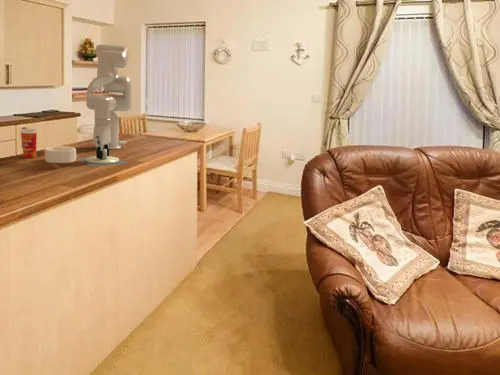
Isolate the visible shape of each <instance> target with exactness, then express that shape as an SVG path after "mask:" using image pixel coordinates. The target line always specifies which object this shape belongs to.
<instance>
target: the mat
mask: <svg viewBox="0 0 500 375" xmlns="http://www.w3.org/2000/svg"><path fill="white" fill-rule="evenodd" d="M111 156H112V157H116V156H115V155H111ZM86 158H87V157H76V160H79V161H80V162H81V163H83V164H85V165H87V166H89V167H91V168H92V167H103V166H105V167H106V166H114V165H117V166H118V165H129V164H130V163H129V162H127V161H125V160H124V159H121V158H119V162H118V163H114V164H93V163H88V162H87V161H86Z"/></svg>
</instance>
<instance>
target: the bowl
mask: <svg viewBox="0 0 500 375" xmlns="http://www.w3.org/2000/svg"><path fill="white" fill-rule="evenodd" d="M43 150H44V151H43V152H44V159H45V160H44V161H45V162H46V163H49V164H57V163H58V164H64V163H66V164H67V163H72V162H73V163H74V162H75V161H76V160H77V159H76V158H77V148H75V147H72V146H63V145H61V146H59V145H58V146H57V145H56V146H47V147H45V148H44V149H43Z"/></svg>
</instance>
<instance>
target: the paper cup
mask: <svg viewBox="0 0 500 375" xmlns="http://www.w3.org/2000/svg"><path fill="white" fill-rule="evenodd" d="M19 132H20V137H21V145H22V154H23V158H25V159H34V158H37V133H38V131H37V130H36V129H35V128H21V129H20V131H19Z"/></svg>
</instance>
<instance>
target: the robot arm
mask: <svg viewBox="0 0 500 375" xmlns="http://www.w3.org/2000/svg"><path fill="white" fill-rule="evenodd" d="M95 54H96V57H97V70H96V77H95V78H93V79H92V81H91V82H90V83H89V84H88V86H87V88H86V95H85V96H86V97H85V98H86V99H85V102H86V103H85V105H86V107H87V109H89V110H93V111H94V113H93V114H94V127H93V134H92V136H93V137H92V143H93V146H94V148H95V151H96V153H95V154H96V155H95V156H96V158H99V159H103V151H102V149H107V157H108V156H110V150H119V149H121V148H122V145H127V140H120V139H119V138H120V135H119V134H120V132H119V131H120V129H119V127H120V126H119V125H120V123H119V122H120V121H119V116H118V115H117V114H116V112H129V111H131V109H132V81H131V79H130V77H128V76H125V75H118V69H120V68H121V69H125V68H126V67H127V65H128V61H129V57H130V56H129V49H128V48H127V47H126V46H123V45H114V44H113V45H112V44H97V45H96V46H95ZM100 87H102V89H103V91H104V92H108V93H105V94H100V95H99V94H93V93H94V92H95V90H97V89H98V88H100ZM112 93H113V94H112ZM115 93H117V94H115ZM118 93H120V94H118Z"/></svg>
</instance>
